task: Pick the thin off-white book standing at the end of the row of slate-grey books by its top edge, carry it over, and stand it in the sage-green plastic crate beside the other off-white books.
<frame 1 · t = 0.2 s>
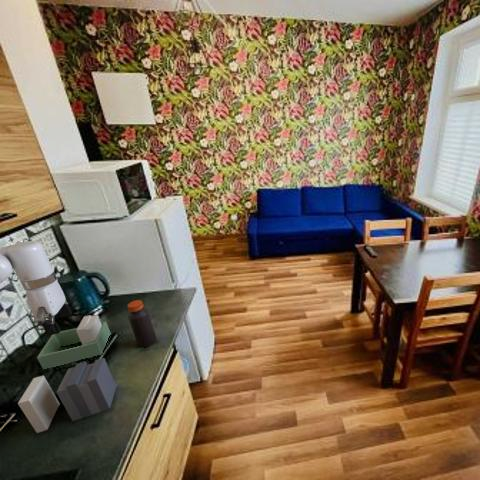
hand: (60, 324, 89), 23 cm above the kitchen counter, tool pointing down, fingers open, 9 cm apart
crate: (81, 352, 108), on the kitchen counter
white books: (80, 351, 107), resting on crate
bottle: (147, 342, 113), on the kitchen counter
grey books: (95, 402, 88), on the kitchen counter
white book: (48, 417, 83), on the kitchen counter
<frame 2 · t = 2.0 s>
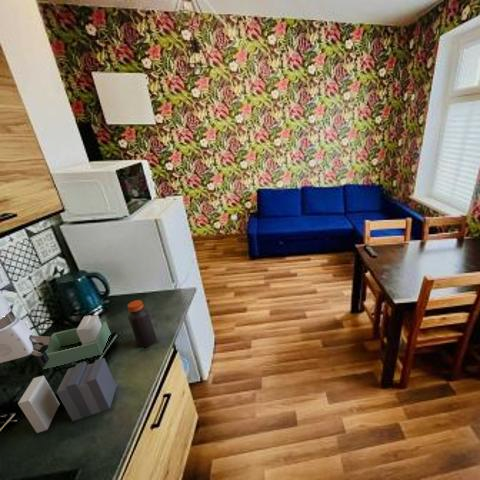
hand: (23, 369, 76), 20 cm above the kitchen counter, tool pointing down, fingers open, 9 cm apart
nothing on the kitchen counter moved.
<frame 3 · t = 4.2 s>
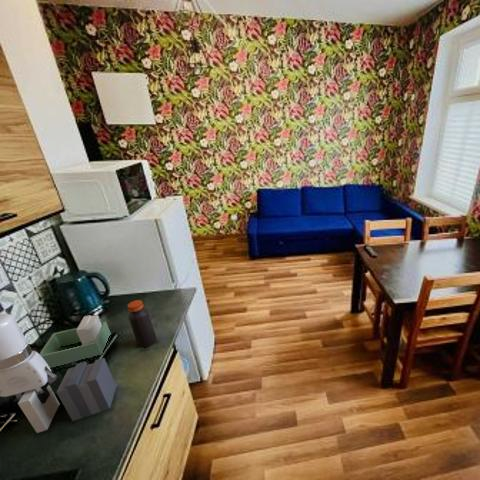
hand: (39, 401, 80), 8 cm above the kitchen counter, tool pointing down, fingers closed on white book, 2 cm apart
white book: (48, 417, 83), on the kitchen counter, touching gripper
everything else where it was.
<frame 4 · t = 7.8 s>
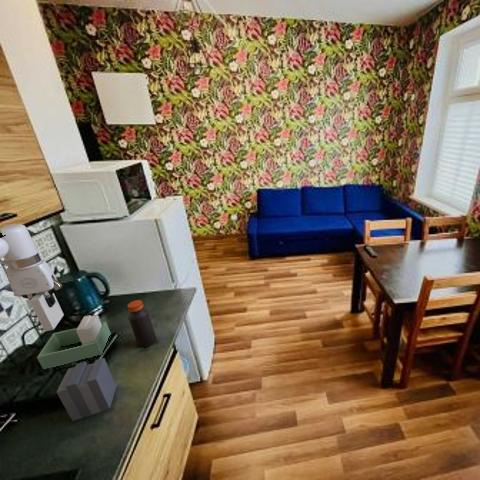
hand: (46, 306, 95), 25 cm above the kitchen counter, tool pointing down, fingers closed on white book, 2 cm apart
white book: (54, 322, 98), point 17 cm above the kitchen counter, touching gripper
everything else where it was.
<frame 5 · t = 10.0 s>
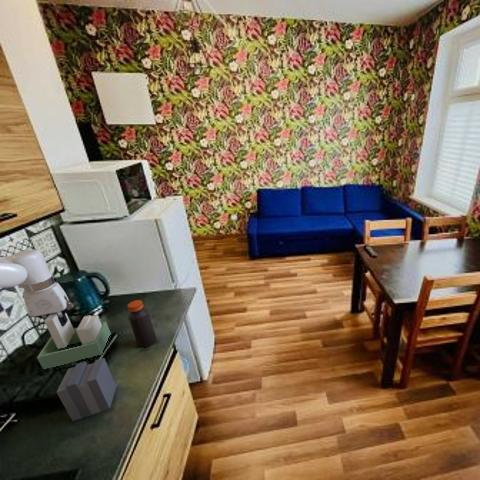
hand: (59, 324, 101), 15 cm above the kitchen counter, tool pointing down, fingers closed on white book, 2 cm apart
white book: (66, 340, 104), point 7 cm above the kitchen counter, touching gripper
everything else where it was.
when the fingers open (8 cm above the kitchen counter, at t = 11.7 s): white book stays where it is, resting on crate.
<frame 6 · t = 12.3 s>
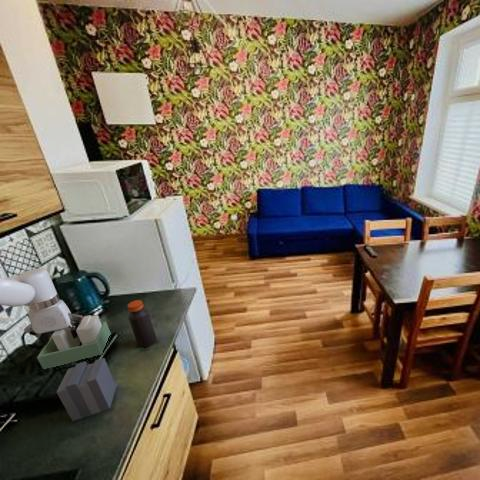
hand: (61, 339, 103), 8 cm above the kitchen counter, tool pointing down, fingers open, 8 cm apart
white book: (73, 353, 107), point 1 cm above the kitchen counter, touching crate
everything else where it was.
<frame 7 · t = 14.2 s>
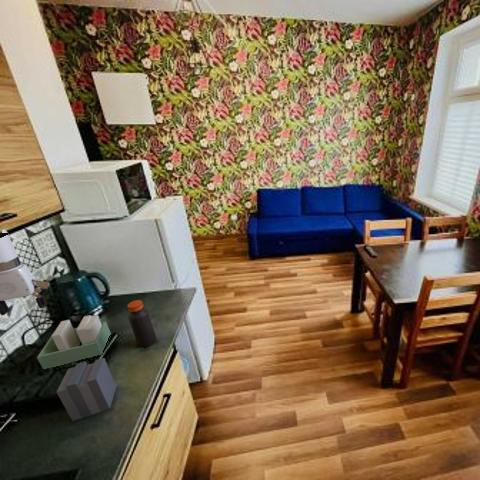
hand: (24, 309, 91), 27 cm above the kitchen counter, tool pointing down, fingers open, 9 cm apart
nothing on the kitchen counter moved.
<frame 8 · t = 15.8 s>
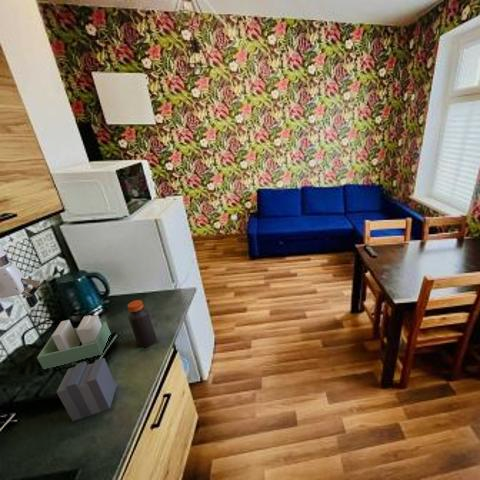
hand: (15, 308, 89), 28 cm above the kitchen counter, tool pointing down, fingers open, 9 cm apart
nothing on the kitchen counter moved.
at the end: white book inside the target area in the crate (2.4 cm from its centre), point 0.6 cm above the crate's base; white book tilted 0°; the gripper is holding nothing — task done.
